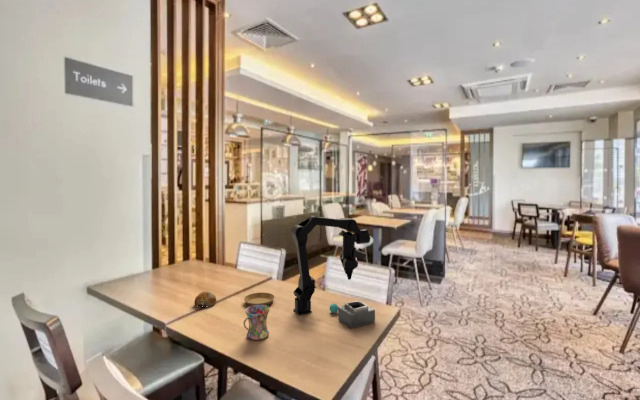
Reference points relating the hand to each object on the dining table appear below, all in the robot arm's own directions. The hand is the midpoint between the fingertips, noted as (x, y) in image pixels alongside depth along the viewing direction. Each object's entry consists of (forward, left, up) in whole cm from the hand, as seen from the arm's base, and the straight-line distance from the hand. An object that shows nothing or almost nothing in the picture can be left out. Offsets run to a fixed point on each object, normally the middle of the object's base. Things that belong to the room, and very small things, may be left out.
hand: (347, 276), depth 157 cm
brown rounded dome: (-61, +32, -14) cm, 71 cm away
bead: (-11, -6, -13) cm, 18 cm away
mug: (-49, -11, -14) cm, 52 cm away
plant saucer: (-37, +22, -14) cm, 46 cm away
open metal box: (-7, -18, -13) cm, 23 cm away
